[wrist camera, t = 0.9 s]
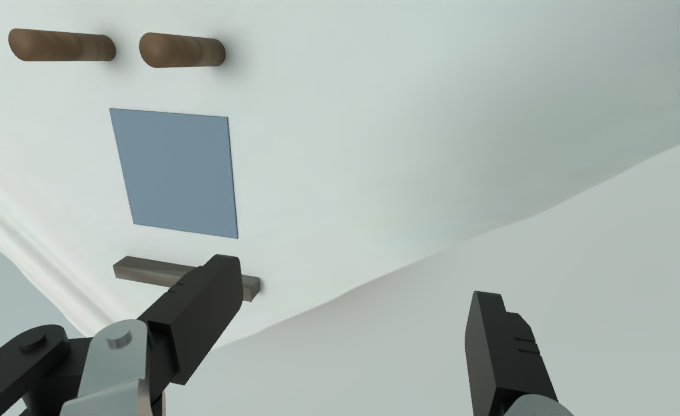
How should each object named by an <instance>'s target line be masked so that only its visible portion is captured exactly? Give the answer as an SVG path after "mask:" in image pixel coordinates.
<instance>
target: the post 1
mask: <svg viewBox="0 0 680 416" xmlns="http://www.w3.org/2000/svg"><path fill="white" fill-rule="evenodd" d="M8 40H9V45H10V48H11V50H12V51H13V53H14V54H15V55H16V56H17V57H18V58H19V59H21V60H23V61H110V60H112V59H113V58H114V57H115V52H116V51H115V46H114V44H113V42H112V40H111V39H110V38H109V37H107V36H105V35H96V34H82V33H69V32H56V31H43V30H30V29H17V28H16V29H12V30H11V31H10V33H9V37H8Z"/></svg>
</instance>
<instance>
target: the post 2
mask: <svg viewBox="0 0 680 416" xmlns="http://www.w3.org/2000/svg"><path fill="white" fill-rule="evenodd" d="M139 50H140V54H141V56H142V58H143V60H144V61H145V62H146V63H147V64H148V65H149V66H151V67H154V68H168V67H201V66H218V65H220V64H222V63H223V61H224V59H225V50H224V47H223V45H222V44H221V43H220V42H219V41H218V40H216V39H211V38H201V37H191V36H181V35H171V34H161V33H146V34H144V35H143V36H142V38H141V40H140V43H139Z"/></svg>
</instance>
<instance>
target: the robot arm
mask: <svg viewBox="0 0 680 416" xmlns="http://www.w3.org/2000/svg"><path fill="white" fill-rule="evenodd" d="M243 294H244V293H243V284H242V276H241V267H240V261H239V259H238V257H234V256H227V255H219V254H216V255H214V256H213V257H212V258H211V259H210V260H209V261H208V262H207V263H206V264H205V265H204V266H199V267H197V268H195V269H193V270H191V271H189V272H188V273H186V274H185V275H184V276H183V277H182V278H180V279H179V280H178V281H177V282H176V285H175V284H174V285H173V286H172V287H171V288H170V289H169V290H168V292H165V293H164V294H163V295H162V296H161V297H160V298H159V299H158V300H157V301H156V302H155V303H153V304H152V305H151V306H150V307H149V308H148V309H147V310H146V311H145V312H144V313H143V314H142V315H140V316H139V317H138V318H137V319H136V320H135V319H129V320H123V321H119V322H116V323H113V324H111V325H109V326H107V327H105V328H104V329H102V330H101V331H99V332H98V333H97V334H96V335H95V336H94V337H90V338H77V339H68V337H67V335H66V332H65V330H64V328H63V327H61V326H59V325H43V326H39V327H36V328H33V329H30V330H27V331H25V332H23V333H21V334H19V335H17V336H16V337H14V338H13V339H11V340H10V341H9V342H7V343H6V344H5V345H3V346H2V347H1V348H0V416H1V415H2V414H3V413H5V412H6V411H7V410H8V409H9V408H10V407H11V406H12V405H13V404H14V403H16V402H17V401H18V400H19V399H20V398H21V397H22V399H23V400H24V402H25V405H26V407H27V409H25V410H24V411H23V413H21V414H20V415H19V416H166V408H165V407H166V406H165V393H164V389H165V388H166V387H167V385H168V384H169V383H170V382H171V383H176V384H180V385H185V384H186V383H187V381H188V380H189V378H190V377H191V376H192V374H193V373H194V371H195V370H196V369H197V367H198V366H199V365H200V363H201V362H202V360H203V359H204V358H205V356H206V355H207V354H208V352H209V351H210V349H211V348H212V347H213V345H214V344H215V343H216V341H217V340H218V338H219V337H220V336H221V334H222V333H223V331H224V330H225V329H226V327H227V326H228V325H229V323H230V322H231V320H232V319H233V318H234V316H235V315H236V313H237V312H238V311H239V309H240V307H241V305H242V301H243ZM465 352H466V359H467V367H468V375H469V382H470V391H471V398H472V406H473V414H474V416H574V415H573V414H572V413H571V412H570V411H569V410H568V409H567V408H565V407H564V406H563V405H561V404H560V403H559V402H558V400H557V397H556V394H555V391H554V389H553V386H552V383H551V381H550V378H549V375H548V373H547V370H546V367H545V365H544V362H543V359H542V357H541V356H540V351H539V349H538V346H537V344H536V343H535V338H534V335H533V333H532V330H531V327H530V326H529V325H528V324H527V323H526V321H525V320H524V319H523V318H522V317H521V316H520V315H519V314H518V313H511V312H506V309H505V306H504V303H503V300H502V297H501V295H500V294H496V293H488V292H480V291H474V293H473V297H472V302H471V307H470V311H469V316H468V321H467V326H466V332H465Z"/></svg>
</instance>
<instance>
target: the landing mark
mask: <svg viewBox="0 0 680 416" xmlns="http://www.w3.org/2000/svg"><path fill="white" fill-rule="evenodd" d="M109 110H110V115H111V120H112V124H113V129H114V134H115V139H116V143H117V148H118V153H119V157H120V162H121V167H122V171H123V176H124V181H125V186H126V190H127V195H128V200H129V204H130V209H131V214H132V219H133V223H134V224H137V225H144V226H151V227H158V228H165V229H172V230H179V231H186V232H193V233H200V234H207V235H214V236H221V237H228V238H235V239H238V233H237V222H236V210H235V199H234V187H233V175H232V164H231V152H230V140H229V129H228V117H217V116H203V115H190V114H177V113H164V112H151V111H138V110H125V109H112V108H110V109H109Z"/></svg>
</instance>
